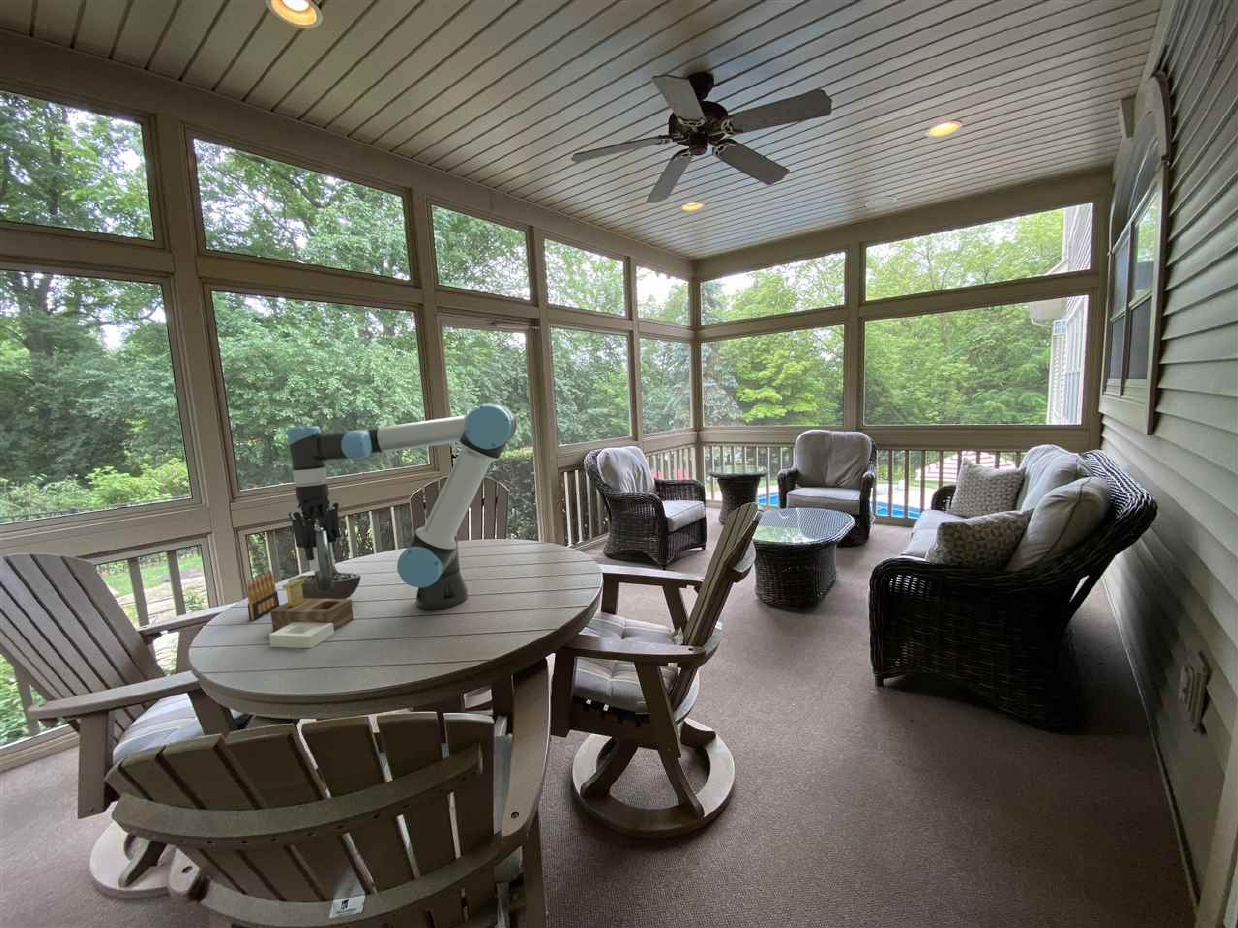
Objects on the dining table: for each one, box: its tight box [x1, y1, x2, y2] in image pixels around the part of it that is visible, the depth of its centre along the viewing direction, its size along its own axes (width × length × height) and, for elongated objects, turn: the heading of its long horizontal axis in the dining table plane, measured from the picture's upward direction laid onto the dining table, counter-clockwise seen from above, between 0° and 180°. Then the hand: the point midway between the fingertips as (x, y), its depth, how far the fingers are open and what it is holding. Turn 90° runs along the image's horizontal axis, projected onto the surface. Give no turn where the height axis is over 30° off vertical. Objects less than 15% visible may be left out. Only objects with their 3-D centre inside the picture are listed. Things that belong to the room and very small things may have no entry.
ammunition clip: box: [247, 569, 280, 622], centre depth 153 cm, size 11×2×12 cm, turn 0°
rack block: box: [268, 622, 335, 649], centre depth 133 cm, size 12×8×3 cm, turn 80°
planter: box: [288, 565, 362, 599], centre depth 157 cm, size 15×17×20 cm
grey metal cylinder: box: [313, 526, 333, 590], centre depth 139 cm, size 4×4×17 cm
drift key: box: [282, 579, 305, 608], centre depth 142 cm, size 2×5×10 cm, turn 170°
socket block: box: [269, 598, 355, 633], centre depth 142 cm, size 18×9×6 cm, turn 80°
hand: (322, 567), depth 140 cm, fingers closed on grey metal cylinder, 4 cm apart
